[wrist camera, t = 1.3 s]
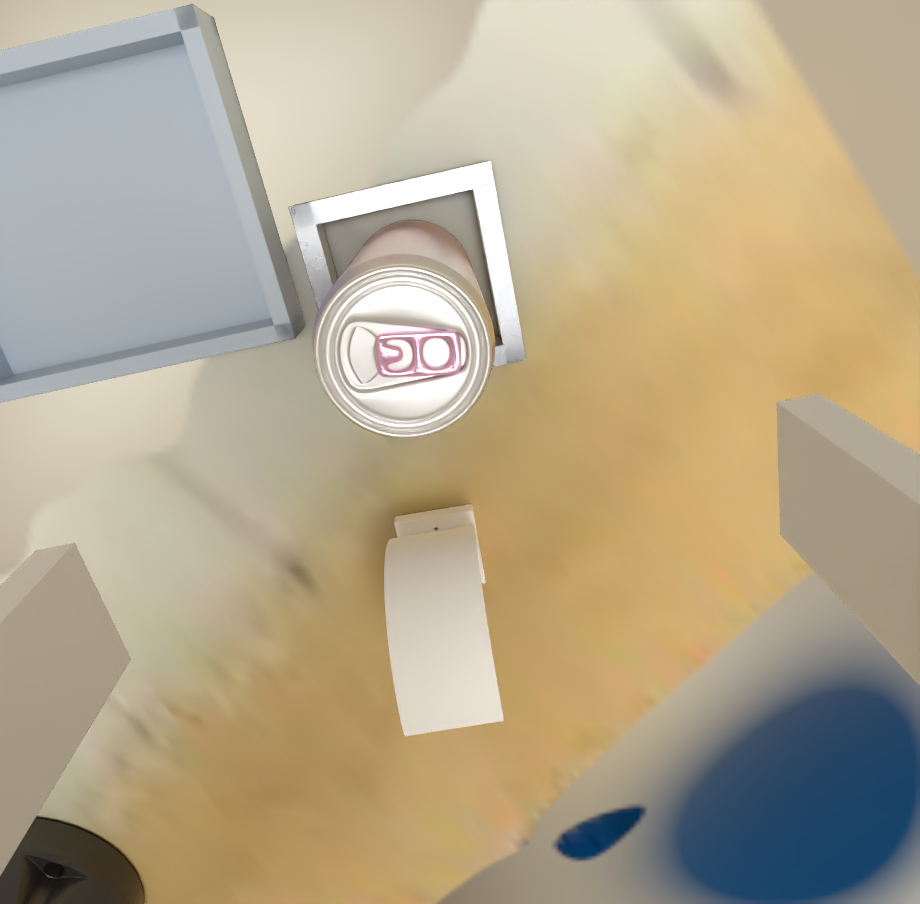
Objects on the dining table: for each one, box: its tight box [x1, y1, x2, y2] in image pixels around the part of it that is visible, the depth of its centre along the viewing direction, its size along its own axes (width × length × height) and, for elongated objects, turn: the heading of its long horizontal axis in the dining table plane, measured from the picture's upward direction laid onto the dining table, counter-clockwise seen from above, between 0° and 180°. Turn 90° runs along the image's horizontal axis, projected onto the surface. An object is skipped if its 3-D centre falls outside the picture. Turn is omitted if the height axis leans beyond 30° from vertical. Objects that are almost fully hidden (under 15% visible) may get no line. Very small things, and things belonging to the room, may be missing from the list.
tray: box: [0, 4, 306, 403], centre depth 33 cm, size 16×14×3 cm
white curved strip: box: [384, 504, 504, 736], centre depth 36 cm, size 5×6×12 cm
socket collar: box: [289, 161, 526, 367], centre depth 35 cm, size 10×10×2 cm
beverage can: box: [313, 220, 495, 438], centre depth 29 cm, size 6×6×15 cm
